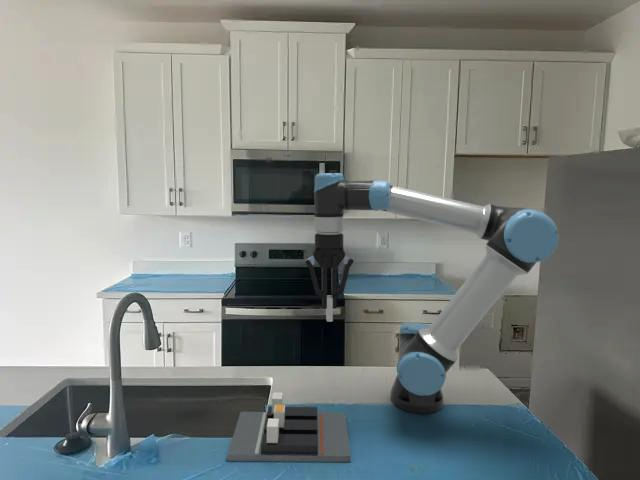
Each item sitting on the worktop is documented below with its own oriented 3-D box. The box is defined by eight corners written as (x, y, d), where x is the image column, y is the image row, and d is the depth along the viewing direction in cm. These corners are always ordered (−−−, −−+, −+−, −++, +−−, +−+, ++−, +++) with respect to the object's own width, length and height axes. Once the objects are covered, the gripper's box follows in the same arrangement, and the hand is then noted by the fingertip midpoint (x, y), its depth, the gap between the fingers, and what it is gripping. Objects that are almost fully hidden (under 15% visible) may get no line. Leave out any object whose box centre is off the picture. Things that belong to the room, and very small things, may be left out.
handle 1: (282, 406, 118) (282, 392, 117) (281, 413, 114) (281, 399, 114) (273, 406, 118) (273, 392, 117) (271, 413, 114) (271, 398, 114)
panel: (344, 418, 120) (344, 405, 119) (350, 462, 101) (351, 447, 101) (240, 416, 119) (240, 404, 119) (227, 461, 100) (227, 446, 100)
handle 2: (278, 434, 105) (278, 418, 104) (277, 443, 101) (277, 426, 101) (268, 434, 105) (268, 418, 104) (266, 442, 101) (266, 426, 101)
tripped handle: (284, 419, 111) (285, 404, 111) (284, 427, 108) (284, 411, 107) (274, 419, 111) (275, 404, 111) (273, 427, 108) (273, 411, 107)
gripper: (351, 230, 120) (351, 315, 123) (303, 231, 119) (304, 316, 122) (355, 233, 113) (355, 323, 116) (304, 234, 112) (305, 325, 115)
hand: (329, 320), depth 119 cm, fingers closed
